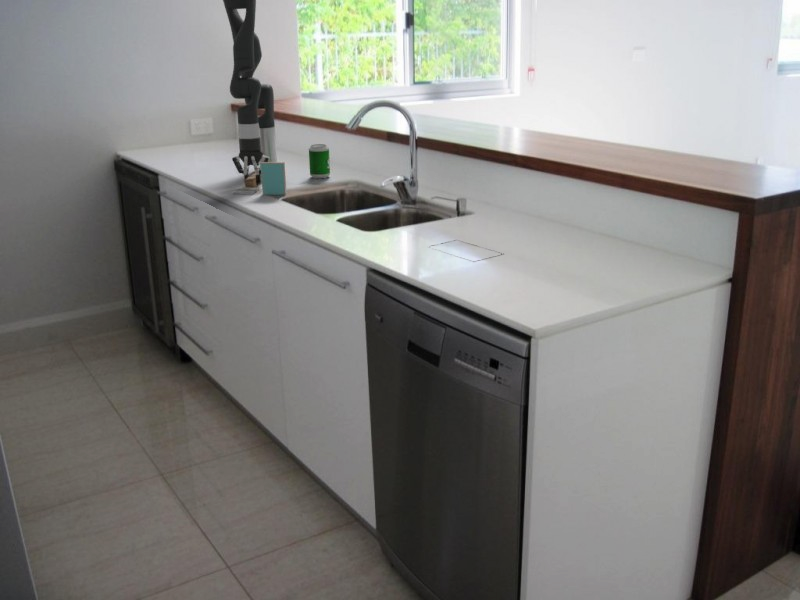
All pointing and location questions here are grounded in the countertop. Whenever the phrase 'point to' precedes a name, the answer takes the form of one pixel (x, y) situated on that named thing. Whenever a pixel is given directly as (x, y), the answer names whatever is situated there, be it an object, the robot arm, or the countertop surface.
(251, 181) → the turner
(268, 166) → the tile
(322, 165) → the soda can
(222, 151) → the countertop surface
